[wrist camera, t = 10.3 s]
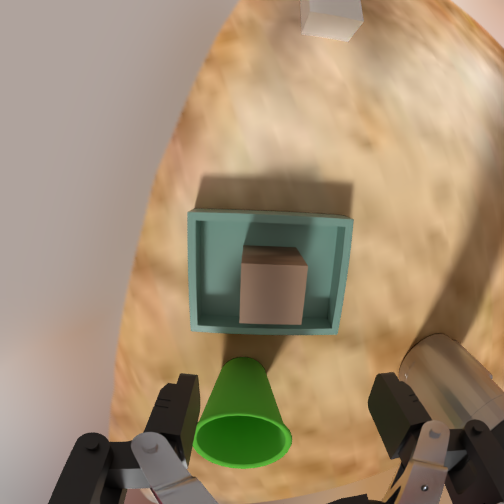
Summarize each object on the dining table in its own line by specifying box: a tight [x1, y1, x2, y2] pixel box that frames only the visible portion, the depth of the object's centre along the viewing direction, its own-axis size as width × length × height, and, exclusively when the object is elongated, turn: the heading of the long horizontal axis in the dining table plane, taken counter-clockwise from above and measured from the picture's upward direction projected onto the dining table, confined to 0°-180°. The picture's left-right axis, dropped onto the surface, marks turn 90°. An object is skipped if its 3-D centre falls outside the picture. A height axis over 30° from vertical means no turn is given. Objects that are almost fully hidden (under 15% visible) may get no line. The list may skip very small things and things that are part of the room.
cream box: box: [300, 0, 364, 42], centre depth 20 cm, size 5×5×5 cm
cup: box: [193, 357, 292, 469], centre depth 26 cm, size 9×9×11 cm
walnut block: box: [239, 245, 308, 325], centre depth 25 cm, size 5×5×6 cm
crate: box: [188, 208, 354, 335], centre depth 27 cm, size 14×11×3 cm
